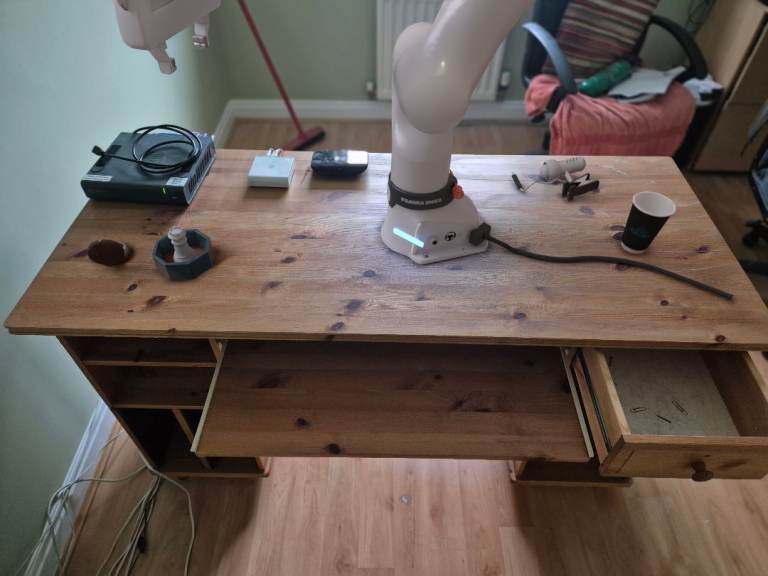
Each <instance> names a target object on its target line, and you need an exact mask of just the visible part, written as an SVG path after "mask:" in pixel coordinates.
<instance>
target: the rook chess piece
mask: <svg viewBox="0 0 768 576" xmlns="http://www.w3.org/2000/svg"><path fill="white" fill-rule="evenodd" d="M185 230H186V229H184V228H183V227H182V226H181V225H177V227H176V225H173V226H172V228H171V227H169V228H168V233H167V234H168V237H169V238H170V239H172V241H171V242H172V244H174V248H175V251H174V253H173V263H178V262H189V261H190V260H192V259H193V258H195V257H197V256H198V255H197V252H196V250H195V249H193V248H192V247H189V245H188V243H187V238H186V237H185V235H186V231H185Z"/></svg>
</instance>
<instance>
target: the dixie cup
mask: <svg viewBox="0 0 768 576" xmlns="http://www.w3.org/2000/svg"><path fill="white" fill-rule="evenodd" d="M676 211H677V206H676V204H675V202H674V201H673V200H672V199H671V198H669V197H668V196H666V195H664V194H661V193H659V192H655V191H640V192H637V193H635V194H634V195H633V197H632V203H631V207H630V209H629V213H628V217H627V219H626V223H625V226H624V229H623V232H622V235H621V238H620V239H621V241H620V245H621V247H622V248H623V250H625V251H627V252H628V253H631V254H636V255H639V254H643V253H644V252H645V251H646V250H647V249H648V248H649V247H650V246H651V244H652V243H653V242H654V240H655V239H656V237H657V236H658V234H659V233H660V232H661V230H663V227H664V226H665V225H666V223H667V222H668V220H669V219H670V218H671V216H672V215H674V214H675V213H676Z"/></svg>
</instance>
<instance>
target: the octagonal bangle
mask: <svg viewBox="0 0 768 576" xmlns="http://www.w3.org/2000/svg"><path fill="white" fill-rule="evenodd" d="M184 230H185V231H186V235H185V237H186V238H187V243H188V245H189V247H190V248H192V247H201V248H202V249H203V250H204V251H203V252H201V253H200V254H198V255H197V257H195V258H193V259H192V260H190V261H189V262H178V263H174V262H166V261H165V258H166V257H167V256H168V255H170V254H171V253H173V252H174V253H175V248H174V244H172V242H171V241H172V239H170V238H169V237H168V233H167V234H165V235H164V236H162V237H161V238H159V239H157V240H156V241H155V243H154V246H153V249H152V252H151V258H152V259H153V262H154V265H155V268H156V269H157V272H159V273H160V274H162V275H163V276H164V277H165V278H166V279H168V280H169V281H173V282H174V281H186V280H194V279H195V280H196V279H197V278H199V277H200V276H201V275H203V274H204V273H206V272H207V271H209V270H210V269H212V268H213V265H214V259H215V254H216V252H215V249H214V247H213V243H212V239H211V237H210V236H208V235H207V234H205V233H203V232H202V231H201V230H199V229H197V228H189V229H188V228H187V229H184Z"/></svg>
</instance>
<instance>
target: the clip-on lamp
mask: <svg viewBox="0 0 768 576" xmlns="http://www.w3.org/2000/svg"><path fill="white" fill-rule="evenodd" d="M586 166H587V161H586V159H585V158H584V157H583V156H576V157H571V158H566V159H561V160H556V159H547V160H545V161H544V162H543V163H542V166H541V167H540V168H539V175H540V177H541V178H543V179H545V181H540V180H535V181H534V182H532V183H531V184H530V185H528V186H527V187H526V188H525V189H523V185H522V183H521V181H520V179H519V177H518V176H517V174H516V173H514V172H513V171H511V179H512V180H513V181H512V182H513V183H514V184H515V186H516V188H517V190H520V191H521V192H526V191H528V190H529V189H530V188H531V187H532V186H534V184H536V183H537V184H542V185H551V184H553V183H555V182H560V183H562V190H561V196H562V198H565V197H567V201H568V202H571V201H573V200H574V198H575V197H578V196H581V195H584V194H587V193H590V192H594V191H595V190H598V189H599V187H600V182H601V181H600V180H599V179H594V180H591V173H589V172H586V173H584V174H582V175H581V176H578V177H577V178H574V179H573V178H572V176H571V174H575V173H580V172H583V171H584V170H585V169H586ZM562 176H565V178H566V181H564V180H562V179H560V177H562Z"/></svg>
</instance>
